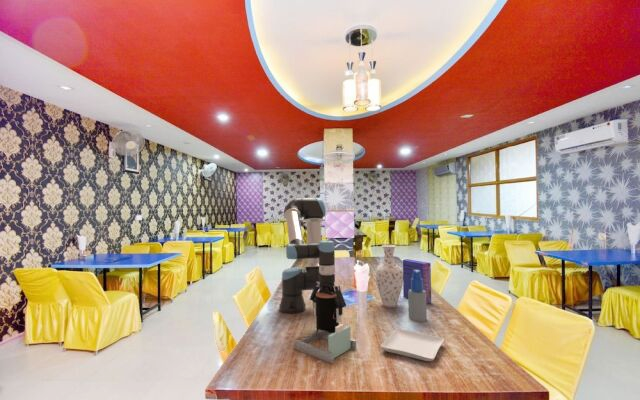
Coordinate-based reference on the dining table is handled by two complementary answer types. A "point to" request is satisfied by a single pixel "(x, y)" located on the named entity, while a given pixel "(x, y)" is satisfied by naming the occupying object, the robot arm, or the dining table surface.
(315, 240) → the robot arm
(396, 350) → the salad plate
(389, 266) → the vase
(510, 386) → the dining table surface
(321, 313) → the coffee jar
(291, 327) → the dining table surface
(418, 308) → the spray bottle
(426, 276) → the cereal box
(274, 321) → the dining table surface
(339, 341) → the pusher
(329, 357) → the open-ended rimmed tray
